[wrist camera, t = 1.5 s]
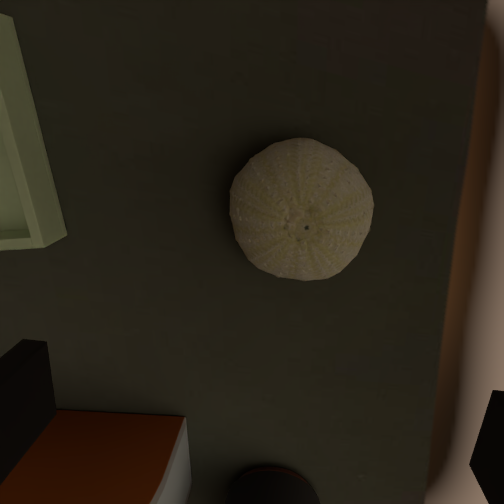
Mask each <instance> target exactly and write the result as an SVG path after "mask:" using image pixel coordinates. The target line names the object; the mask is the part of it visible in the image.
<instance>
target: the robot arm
mask: <svg viewBox="0 0 504 504" xmlns="http://www.w3.org/2000/svg"><path fill="white" fill-rule="evenodd" d="M56 414H57V412H56V405H55V397H54V390H53V383H52V376H51V369H50V361H49V354H48V347H47V342H45V341H36V340H27V339H22V340H21V341H20V342H19V343H18V344H16V345H15V346H14V347H13V348H12V349H10V350H9V351H8V352H7V353H6V354H4V355H3V356H2V357H1V358H0V485H1V484H2V483H3V481H4V480H5V479H6V478H7V476H8V475H9V474H10V472H11V471H12V470H13V469H14V467H15V466H16V465H17V464H18V462H19V461H20V460H21V459H22V457H23V456H24V455H25V453H26V452H27V451H28V450H29V448H30V447H31V446H32V445H33V443H34V442H35V441H36V440H37V438H38V437H39V436H40V434H41V433H42V432H43V431H44V429H45V428H46V427H47V426H48V424H49V423H50V422H51V421H52V419H53V418H54V417H55V415H56ZM469 465H470V467H471V469H472V471H473V473H474V475H475V477H476V479H477V481H478V483H479V485H480V487H481V489H482V491H483V493H484V495H485V497H486V499H487V501H488V503H489V504H504V391H498V390H493V391H492V394H491V397H490V401H489V404H488V407H487V410H486V413H485V416H484V420H483V423H482V426H481V429H480V432H479V435H478V438H477V441H476V444H475V448H474V451H473V454H472V457H471V460H470V464H469Z"/></svg>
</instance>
